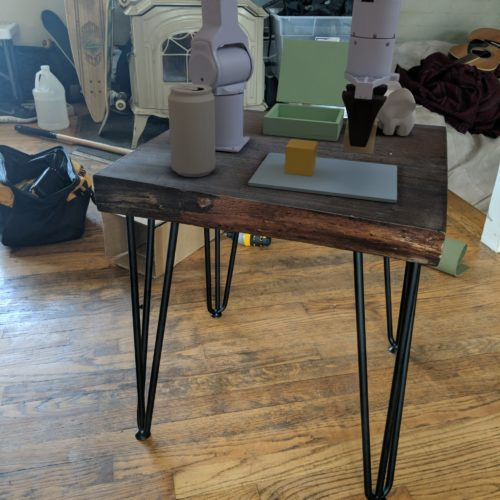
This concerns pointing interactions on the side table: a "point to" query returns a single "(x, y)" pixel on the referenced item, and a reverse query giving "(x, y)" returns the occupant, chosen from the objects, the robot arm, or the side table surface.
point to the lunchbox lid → (313, 72)
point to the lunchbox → (304, 122)
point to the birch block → (367, 149)
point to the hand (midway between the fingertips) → (358, 141)
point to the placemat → (331, 178)
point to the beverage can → (192, 129)
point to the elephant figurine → (397, 110)
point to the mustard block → (300, 157)
